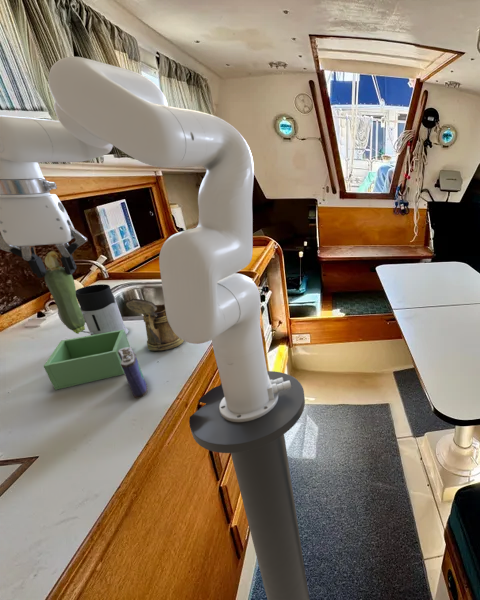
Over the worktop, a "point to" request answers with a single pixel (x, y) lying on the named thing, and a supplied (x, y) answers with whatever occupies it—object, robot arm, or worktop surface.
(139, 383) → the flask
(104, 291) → the travel mug
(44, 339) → the worktop surface
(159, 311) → the wooden mug
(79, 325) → the vegetable
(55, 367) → the veg bin
